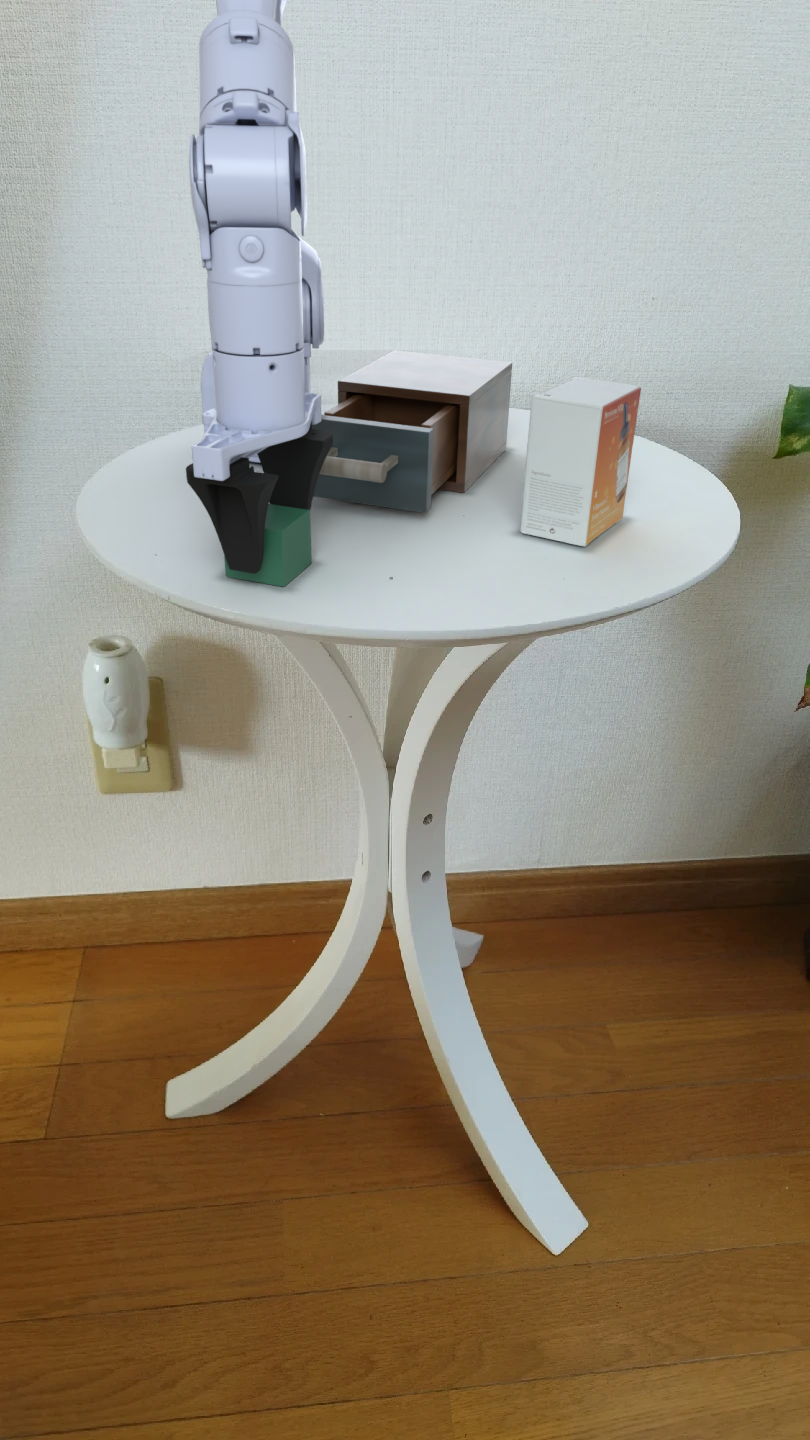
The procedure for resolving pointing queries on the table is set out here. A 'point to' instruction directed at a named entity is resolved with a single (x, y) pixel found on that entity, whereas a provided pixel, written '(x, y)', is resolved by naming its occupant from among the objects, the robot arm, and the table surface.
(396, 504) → the drawer
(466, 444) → the cabinet
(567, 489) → the small box
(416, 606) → the table surface
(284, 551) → the green cube
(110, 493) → the table surface
